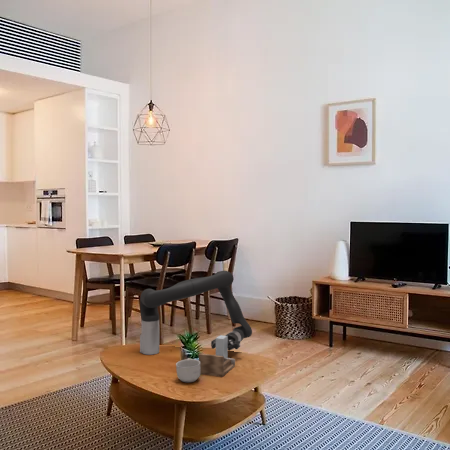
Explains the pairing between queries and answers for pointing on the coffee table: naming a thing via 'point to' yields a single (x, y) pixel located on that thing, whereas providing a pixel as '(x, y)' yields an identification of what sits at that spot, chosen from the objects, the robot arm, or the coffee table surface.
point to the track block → (215, 364)
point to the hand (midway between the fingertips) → (220, 347)
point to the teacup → (188, 370)
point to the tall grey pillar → (222, 346)
